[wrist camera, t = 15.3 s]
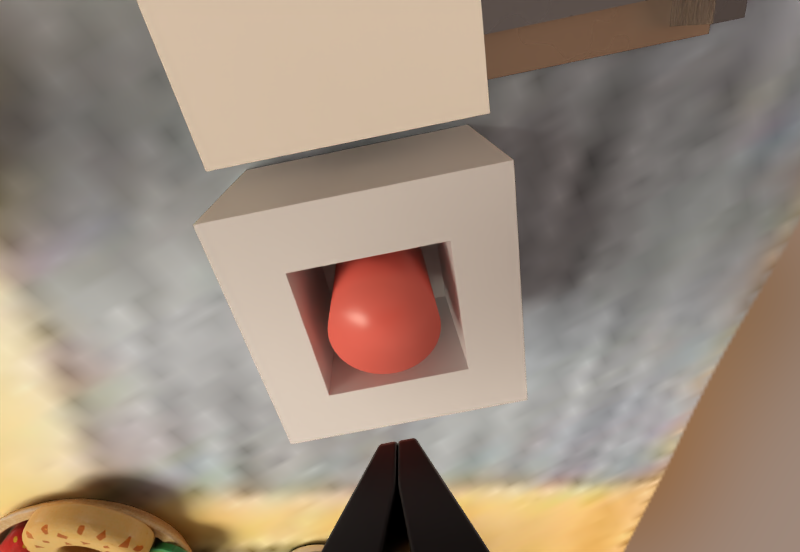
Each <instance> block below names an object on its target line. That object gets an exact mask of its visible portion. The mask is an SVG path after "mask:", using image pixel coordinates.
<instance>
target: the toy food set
mask: <svg viewBox="0 0 800 552" xmlns="http://www.w3.org/2000/svg"><path fill="white" fill-rule="evenodd" d="M0 552H192V550H191V549H190V547H189V546H188V544H187V542H186V541H185V539H184V538H183V537H182V535H181V534H180V533H179V532H178V531H177V530H176V529H175V528H173V527H172V526H171V525H169V524H168V523H167V522H165V521H163V520H162V519H160V518H158V517H156V516H154V515H152V514H150V513H148V512H146V511H143V510H141V509H138V508H135V507H132V506H128V505H125V504H121V503H116V502H111V501H105V500H96V499H61V500H54V501H48V502H44V503H40V504H37V505H34V506H30V507H26V508H23V509H20V510H17V511H14V512H12V513H10V514H8V515H6V516H4V517H2V518H0Z"/></svg>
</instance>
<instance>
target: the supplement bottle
mask: <svg viewBox="0 0 800 552" xmlns="http://www.w3.org/2000/svg"><path fill="white" fill-rule="evenodd" d="M323 547H324V545H308V546H303V547H300V548H297V549H295V550H293V551H291V552H321V551H322V549H323Z"/></svg>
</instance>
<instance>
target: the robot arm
mask: <svg viewBox="0 0 800 552" xmlns="http://www.w3.org/2000/svg"><path fill="white" fill-rule="evenodd" d="M321 552H490V551H489V550H488V548H487V547H486V545H485V544H484V542H483V541H482V539H481V537H480V536H479V534H478V533H477V531H476V530H475V528H474V527H473V525H472V524H471V522H470V521H469V519H468V518H467V516H466V514H465V513H464V511H463V510H462V508H461V507H460V505H459V504H458V502H457V501H456V499H455V498H454V496H453V495H452V493H451V492H450V490H449V488H448V487H447V485H446V484H445V482H444V481H443V479H442V478H441V476H440V475H439V473H438V472H437V470H436V469H435V467H434V465H433V464H432V462H431V461H430V459H429V458H428V456H427V455H426V453H425V452H424V450H423V449H422V447H421V446H420V444H419V443H418V441H417V440H416V439H414V438H412V439H407V440H401V441H399V443H397V442H390V443H385V444H381V445H379V447H378V448H377V450H376V452H375V454H374V456H373V457H372V459H371V461H370V463H369V465H368V467H367V468H366V470H365V472H364V474H363V476H362V478H361V479H360V481H359V483H358V485H357V487H356V489H355V490H354V492H353V494H352V496H351V498H350V500H349V501H348V503H347V505H346V507H345V509H344V511H343V512H342V514H341V516H340V518H339V520H338V522H337V523H336V525H335V527H334V529H333V531H332V533H331V534H330V536H329V538H328V540H327V542H326V544H325V545H324V547H323V549H322V551H321Z"/></svg>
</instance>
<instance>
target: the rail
mask: <svg viewBox="0 0 800 552" xmlns="http://www.w3.org/2000/svg"><path fill="white" fill-rule="evenodd" d="M746 5H747V0H481V7H482V19H483V32H484V44H485V57H486V70H487V80H488V79H493V78H498V77H503V76H508V75H512V74H517V73H522V72H527V71H532V70H536V69H541V68H546V67H551V66H556V65H560V64H565V63H570V62H575V61H580V60H584V59H589V58H594V57H599V56H604V55H608V54H613V53H618V52H623V51H628V50H632V49H637V48H642V47H647V46H652V45H657V44H661V43H666V42H671V41H676V40H681V39H685V38H690V37H695V36H700V35H705V34H709V28H710V24H714V23H719V22H724V21H729V20H734V19H738V18H743V17H745V11H746Z"/></svg>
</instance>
